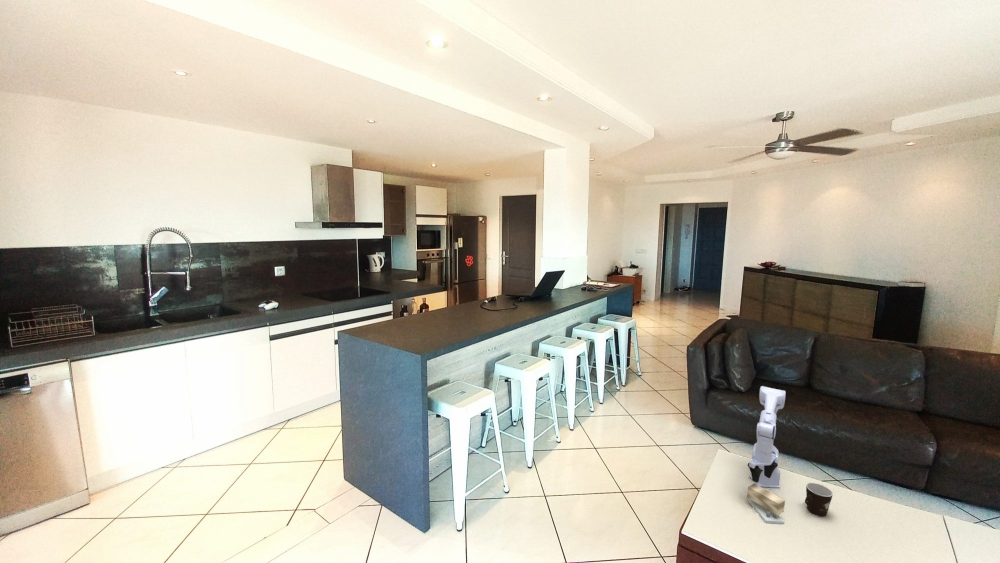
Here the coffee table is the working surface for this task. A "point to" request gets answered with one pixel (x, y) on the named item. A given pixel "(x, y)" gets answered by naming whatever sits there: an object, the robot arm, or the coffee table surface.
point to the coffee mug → (818, 499)
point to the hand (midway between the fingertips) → (761, 479)
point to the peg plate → (766, 513)
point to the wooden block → (766, 499)
